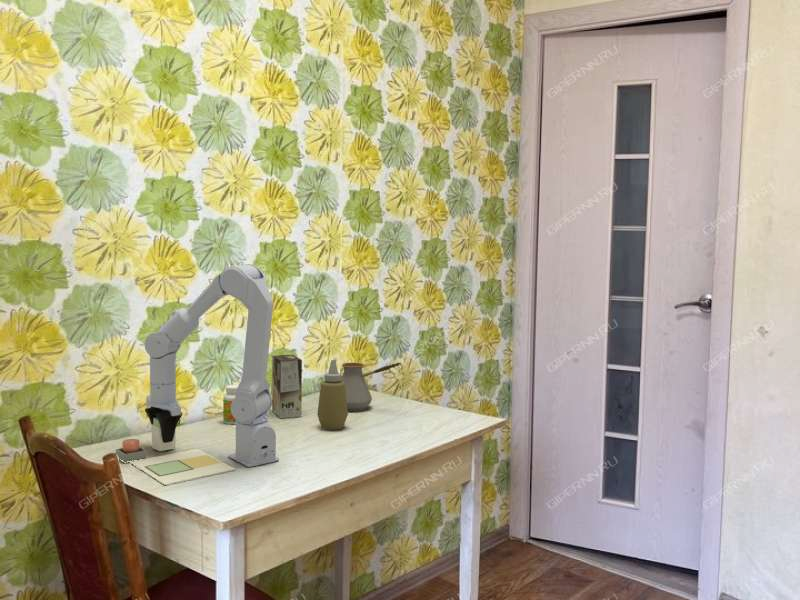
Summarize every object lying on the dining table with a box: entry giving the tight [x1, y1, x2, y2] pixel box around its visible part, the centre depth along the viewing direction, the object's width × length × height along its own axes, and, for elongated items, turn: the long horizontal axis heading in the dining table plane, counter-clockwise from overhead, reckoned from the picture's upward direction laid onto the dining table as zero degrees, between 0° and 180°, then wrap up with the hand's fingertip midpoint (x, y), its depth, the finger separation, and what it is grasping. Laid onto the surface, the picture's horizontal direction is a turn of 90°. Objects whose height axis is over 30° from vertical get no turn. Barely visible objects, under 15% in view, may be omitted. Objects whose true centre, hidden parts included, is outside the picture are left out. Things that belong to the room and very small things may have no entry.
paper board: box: [131, 448, 236, 486], centre depth 167 cm, size 18×16×1 cm
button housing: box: [115, 446, 147, 462], centre depth 171 cm, size 5×5×2 cm
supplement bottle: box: [222, 384, 239, 425], centre depth 203 cm, size 5×5×10 cm
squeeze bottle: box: [316, 359, 349, 431], centre depth 200 cm, size 8×8×18 cm
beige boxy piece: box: [151, 418, 177, 452], centre depth 178 cm, size 4×4×7 cm
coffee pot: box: [341, 362, 404, 412], centre depth 219 cm, size 21×12×15 cm, turn 65°
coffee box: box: [271, 354, 303, 419], centre depth 213 cm, size 9×6×16 cm
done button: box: [122, 438, 141, 454], centre depth 171 cm, size 4×4×2 cm
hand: (163, 439), depth 178 cm, fingers closed on beige boxy piece, 4 cm apart
